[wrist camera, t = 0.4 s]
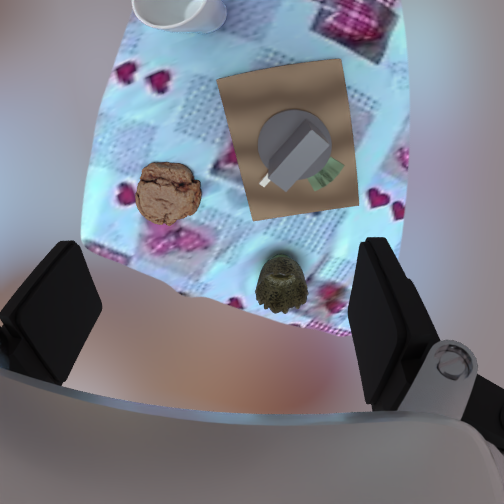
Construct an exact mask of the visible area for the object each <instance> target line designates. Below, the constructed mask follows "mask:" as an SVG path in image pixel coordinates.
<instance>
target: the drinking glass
mask: <svg viewBox="0 0 504 504" xmlns="http://www.w3.org/2000/svg"><path fill="white" fill-rule="evenodd" d="M132 8H133V11H134V13H135V15H136V16H137V18H138V19H139V20H140V21H141V22H142V23H144V24H145V25H147V26H150V27H153V28H156V29H159V30H163V31H167V32H175V33H202V34H205V33H211V32H213V31H215V30H217V29H219V28H220V27H221V26H222V25H223V24H224V22H225V20H226V17H227V9H226V6H225V4H224V3H223V1H222V0H132Z"/></svg>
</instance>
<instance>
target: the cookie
mask: <svg viewBox="0 0 504 504" xmlns="http://www.w3.org/2000/svg"><path fill="white" fill-rule="evenodd" d="M140 179H141V180H140V182H139V183H138V186H137V192H136V205H137V208H138V210H139V211H140V213H141V214H142V215H143V216H144V217H145V218H146V219H147V220H149V221H151V222H153V223H155V224H159V225H163V223H165V224H166V225H168V226H170V225H172V224H174V223H175V222H176V220H177V219H182V218H185V217H187V215H189V216H191V215H193V214H194V213H195V212H196V211H197V209H198V207H199V204H200V200H201V195H202V194H201V191H200V190H201V189H200V182H199V181H198V180H194V176H193V175H192V172H191V171H190V170H189V169H188V168H187V167H186V166H184V165H182V164H179V163H169V162H161V163H151V164H149V165H148V166H147V167H145V168H143V169H142V174H141V177H140Z"/></svg>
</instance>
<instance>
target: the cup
mask: <svg viewBox="0 0 504 504" xmlns="http://www.w3.org/2000/svg"><path fill="white" fill-rule="evenodd" d="M307 289H308V288H307V285H306V281H305V278H304V274H303V272H302V269H301V267H300V266H299V264H298V263H297V262H296V261H294V260H293V259H291V258H290V257H289V256H287V255H285V254H278V255H276V256H274V257H273V258H272V259H270V260H269V261H268V262H267V263H266V264H265V265H264V266H263V268H262V270H261V272H260V275H259V279H258V283H257V287H256V291H255V293H256V300H257V301H258V303H259V305H262V304H263V303H264V309H268V308H270V310H271V311H272V312H273V313H279V312H281V311H282V312H283V313H284V314H286V313H288V311H289V308H293V307H294V306H295V307H296V309H299V308H300V306H301V305H303V304H305V303H306V300H307V295H308V290H307Z"/></svg>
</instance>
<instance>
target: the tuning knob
mask: <svg viewBox="0 0 504 504" xmlns="http://www.w3.org/2000/svg"><path fill="white" fill-rule="evenodd" d="M331 149H332V142H331V137H330V134H329V131H328V129H327V128H326V126H325V125H324V124H323V122H322V121H321V120H320V119H319V118H318V117H316V116H315V115H313V114H312V113H310V112H307V111H304V110H299V109H289V110H284V111H281V112H279V113H276V114H275V115H273V116H272V117H270V118H269V119H268V120H267V121H266V122H265V124H264V125H263V127H262V129H261V131H260V134H259V138H258V152H259V156H260V158H261V160H262V162H263V164H264V165H265V166H266V168H267V169H268V173H267V174H266V175H265V176H264V177H263V178H262V179H261V181H260V182H259V184H260V185H261V186H263V187H265V186H266V185H267V184H268V183H269V181H270V180H271V181H272V182H273V183H275V184H276V185H277V186H279V187H280V188H281V189H283V190H284V191H285V192H287V191H288V190H289V188H290V187H291V186H292V185H293V184H294V183H295V182H296V181H297V180H302V179H306V178H309V177H312V176H313V175H315V174H317V173H318V172H319V171H320V170H322V169H323V167H324V166H325V165H326V163H327V162H328V160H329V158H330V154H331Z"/></svg>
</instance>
